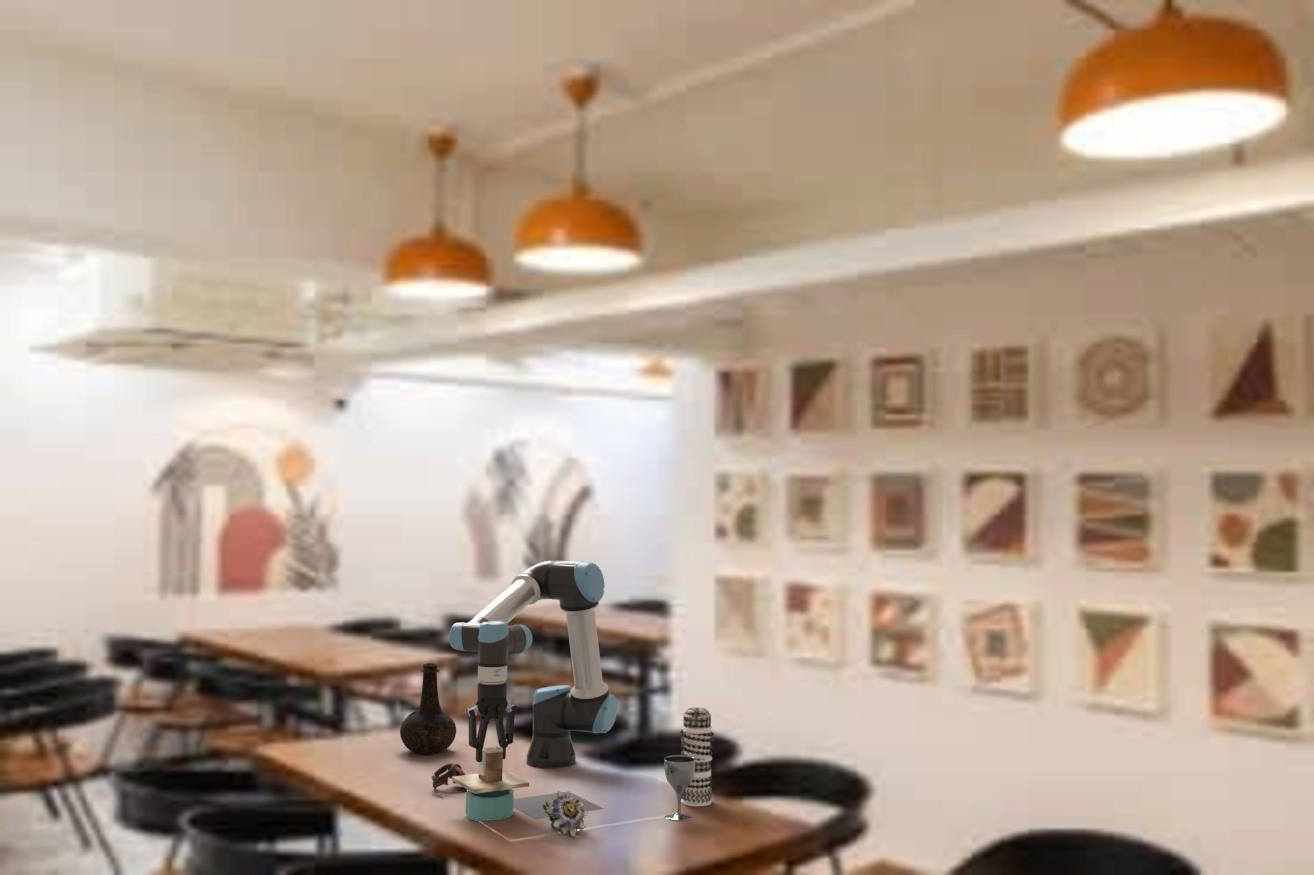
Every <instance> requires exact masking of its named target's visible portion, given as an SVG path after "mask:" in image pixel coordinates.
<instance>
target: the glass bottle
mask: <svg viewBox="0 0 1314 875" xmlns="http://www.w3.org/2000/svg"><path fill="white" fill-rule="evenodd" d="M440 671H441V670H440V669H438V665H437V664H436V663H431V662H430V663H429V662H428V663H423V664H422V668H421V669H420V672H421V673H422V687H421V696H420V701H419V702H420V703H419V706H418V710H415V711H413V712H411V713H409V714H408V715H407V716H406V718H404V720H403V721H402V723H401V726H400V729H399V735H400V739H401V742H402V743H403V745H404V746H405V747H406V749H407V750H409V751H410V752H411V753H413V754H416V755H423V754H426V755H434V754H435V753H436V754H439V753H442V752H444V751H445V750H448V748H449V747H450V746H451V745H452V744H453V743H454V741H455V738H456V735H457V726H456V723H455V721H454V720H453V719H452V717H451V716H449V715H448V714H447V713H445V712H443V710H442V708H441V704H440V697H439V689H438V673H439V672H440Z"/></svg>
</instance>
